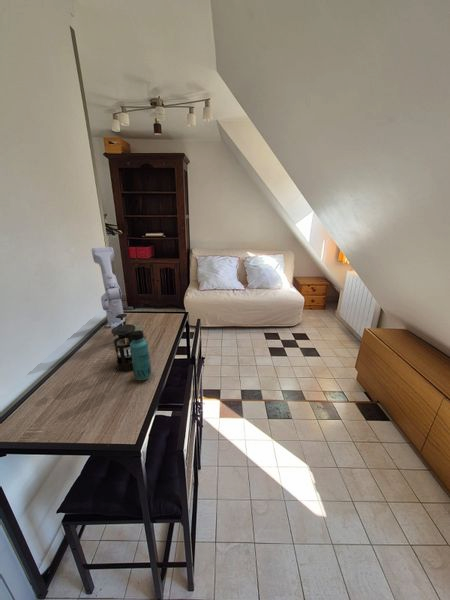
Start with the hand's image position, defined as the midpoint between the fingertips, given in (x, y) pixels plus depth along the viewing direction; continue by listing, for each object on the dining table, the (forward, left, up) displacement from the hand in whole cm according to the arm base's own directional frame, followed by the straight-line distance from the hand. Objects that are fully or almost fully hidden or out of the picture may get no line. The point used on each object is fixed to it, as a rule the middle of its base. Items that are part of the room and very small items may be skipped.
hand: (121, 336), depth 125 cm
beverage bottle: (+32, +18, -2) cm, 37 cm away
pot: (0, +6, -2) cm, 7 cm away
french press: (+22, +10, -2) cm, 24 cm away
